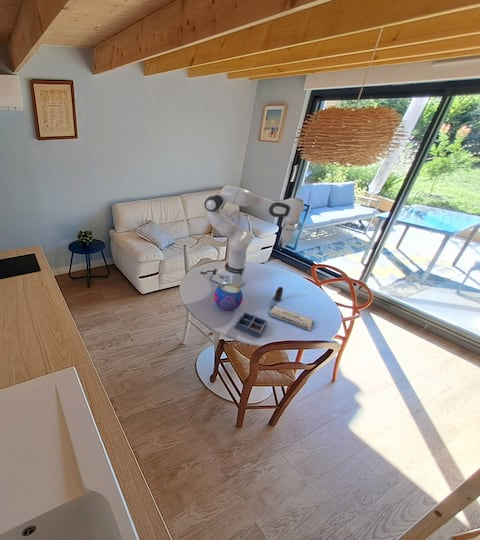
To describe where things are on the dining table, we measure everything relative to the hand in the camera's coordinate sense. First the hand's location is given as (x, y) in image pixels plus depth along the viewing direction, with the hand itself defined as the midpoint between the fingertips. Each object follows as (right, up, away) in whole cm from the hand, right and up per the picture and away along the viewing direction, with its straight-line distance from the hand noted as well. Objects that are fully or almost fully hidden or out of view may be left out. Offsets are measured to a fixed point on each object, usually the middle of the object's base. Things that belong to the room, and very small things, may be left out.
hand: (282, 245), depth 181 cm
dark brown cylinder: (+3, -35, +13) cm, 38 cm away
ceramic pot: (-34, -40, +6) cm, 53 cm away
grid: (-26, -49, -11) cm, 57 cm away
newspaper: (+2, -46, -5) cm, 46 cm away
